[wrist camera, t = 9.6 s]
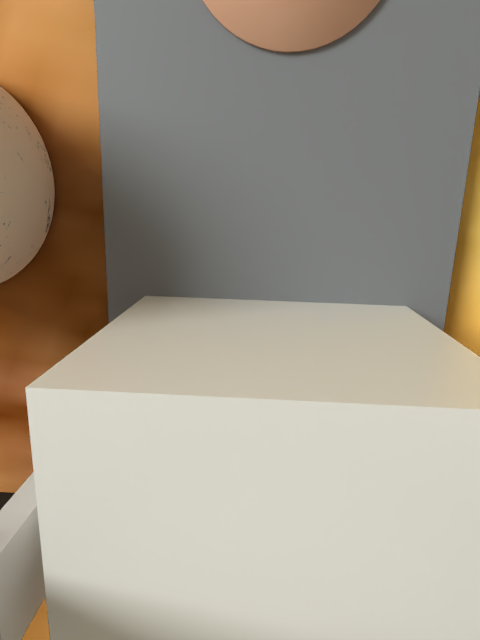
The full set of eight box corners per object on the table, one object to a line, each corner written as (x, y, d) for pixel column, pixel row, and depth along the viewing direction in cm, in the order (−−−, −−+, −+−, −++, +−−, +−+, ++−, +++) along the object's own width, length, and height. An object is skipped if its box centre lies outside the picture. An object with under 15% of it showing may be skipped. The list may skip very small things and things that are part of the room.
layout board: (126, 515, 21) (116, 536, 20) (93, -318, 14) (74, -376, 12) (402, 532, 21) (411, 555, 19) (524, -326, 13) (554, -387, 12)
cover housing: (150, 516, 20) (61, 761, 11) (145, 295, 17) (25, 387, 9) (378, 530, 19) (473, 796, 11) (406, 306, 17) (561, 413, 8)
